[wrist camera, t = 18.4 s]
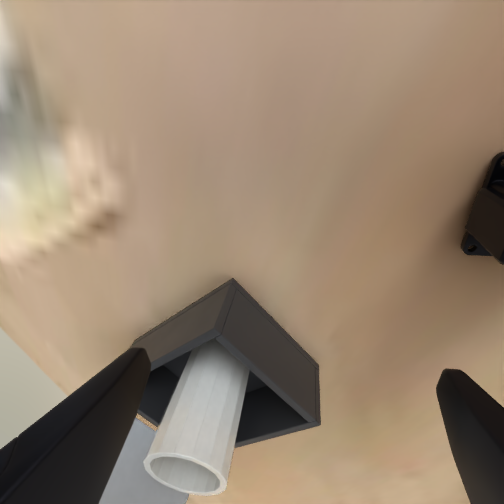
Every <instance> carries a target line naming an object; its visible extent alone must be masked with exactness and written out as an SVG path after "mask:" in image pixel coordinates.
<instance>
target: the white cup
mask: <svg viewBox="0 0 504 504" xmlns="http://www.w3.org/2000/svg"><path fill="white" fill-rule="evenodd" d="M249 373H250V369H248V368H247V367H246V366H245V365H244V364H243V363H242V362H241V361H239V360H238V359H237V358H236V357H235V356H234V355H233V354H232V353H230V352H229V351H228V350H227V349H226V348H225V347H224V346H223V345H222V344H220V343H219V342H218V341H217V340H216V339H215V338H213V339H211V340H209V341H207V342H205V343H203V344H201V345H200V346H198V347H196V348H194V349H192V350H191V352H190V353H189V356H188V358H187V360H186V363H185V365H184V367H183V370H182V372H181V374H180V377H179V379H178V381H177V384H176V386H175V388H174V391H173V393H172V395H171V398H170V400H169V402H168V405H167V407H166V409H165V412H164V414H163V416H162V418H161V421H160V423H159V425H158V428H157V430H156V432H155V435H154V437H153V439H152V442H151V444H150V446H149V449H148V451H147V453H146V456H145V458H144V460H143V464H144V468H145V470H146V471H147V472H148V473H149V474H150V475H151V477H153V478H154V479H155V480H157V481H159V482H160V483H162V484H163V485H165V486H168V487H170V488H172V489H175V490H177V491H180V492H184V493H188V494H192V495H193V494H194V495H202V496H210V495H216V494H220V493H221V492H223V491H224V490H226V488H227V483H228V478H229V473H230V468H231V463H232V458H233V453H234V448H235V443H236V438H237V433H238V428H239V423H240V418H241V413H242V408H243V403H244V398H245V393H246V388H247V383H248V378H249Z"/></svg>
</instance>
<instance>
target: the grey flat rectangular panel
mask: <svg viewBox="0 0 504 504" xmlns="http://www.w3.org/2000/svg"><path fill="white" fill-rule="evenodd" d="M155 432H156V431H154V430H153V429H151V428H150V427H148V426H147V425H145V424H144V423H143V422H141V421H140V420H138V419H137V418H135V420H134V423H133V425H132V427H131V430H130V432H129V434H128V437H127V439H126V441H125V444H124V446H123V448H122V451H121V453H120V455H119V458H118V460H117V462H116V465H115V467H114V469H113V472H112V474H111V476H110V479H109V481H108V483H107V486H106V488H105V490H104V492H103V495H102V497H101V499H100V502H99V504H186V501H187V499H188V496H189V494H188V493H184V492H180V491H177V490H175V489H172V488H170V487H168V486H165V485H163V484H162V483H160V482H159V481H157V480H155V479H154V478H153V477H151V475H150V474H149V473H148V472H147V471H146V470H145V468H144V464H143V460H144V458H145V456H146V453H147V451H148V449H149V446H150V444H151V442H152V439H153V437H154V435H155Z"/></svg>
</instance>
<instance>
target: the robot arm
mask: <svg viewBox="0 0 504 504" xmlns="http://www.w3.org/2000/svg"><path fill="white" fill-rule="evenodd" d="M503 159H504V152H501V153H499V154H497V155H496V156H495V157H494V158H493V160H492V162H491V165H490V168H489V171H488V173H487V176H486V179H485V181H484V184H483V187H482V189H480V190H479V191H478V193H477V196H476V199H475V201H474V204H473V207H472V210H471V212H470V215H469V218H468V221H467V224H466V226H465V228H466V233H465V236H464V239H463V241H462V244H461V249H462V251H463V252H464V253H465V254H467V255H480V256H493V257H494V258H495V259H496V260H497V261H498V262H499V263H500V264H502V265H504V164H503V165H501V161H502V160H503ZM471 245H474V246H473V247H472V248H470V249H468V248H469V246H471ZM150 371H151V362H150V359H149V356H148V354H147V351H146V349H145V348H144V347H131V348H130V349H128V350H127V351H126V352H124V353H123V354H122V355H121V356H119V357H118V358H117V359H116V360H114V361H113V362H112V363H110V364H109V365H108V366H107V367H105V368H104V369H103V370H101V371H100V372H99V373H98V374H96V375H95V376H94V377H92V378H91V379H90V380H89V381H87V382H86V383H85V384H84V385H82V386H81V387H80V388H78V389H77V390H76V391H75V392H73V393H72V394H71V395H69V396H68V397H67V398H66V399H64V400H63V401H62V402H61V403H59V404H58V405H57V406H55V407H54V408H53V409H52V410H50V411H49V412H48V413H46V414H45V415H44V416H43V417H42V418H40V419H39V420H38V421H36V422H35V423H34V424H32V425H31V426H30V427H29V428H27V429H26V430H25V431H23V432H22V433H21V434H20V435H19V436H18V437H16V438H14V439H13V440H12V441H10V442H9V443H8V444H7V445H6V446H4V447H3V448H2V449H0V504H99V502H100V499H101V497H102V495H103V492H104V490H105V488H106V486H107V483H108V481H109V479H110V476H111V474H112V472H113V469H114V467H115V465H116V462H117V460H118V458H119V455H120V453H121V451H122V448H123V446H124V444H125V441H126V439H127V437H128V434H129V432H130V430H131V427H132V425H133V423H134V420H135V418H136V415H137V412H138V409H139V406H140V403H141V400H142V397H143V393H144V390H145V387H146V384H147V381H148V378H149V375H150ZM436 393H437V398H438V402H439V405H440V409H441V413H442V417H443V421H444V425H445V428H446V432H447V436H448V440H449V444H450V447H451V451H452V454H453V457H454V460H455V463H456V466H457V468H458V471H459V474H460V476H461V479H462V482H463V484H464V487H465V490H466V492H467V495H468V498H469V500H470V503H471V504H504V408H503V407H502V406H501V405H500V404H499V403H498V402H497V401H496V400H494V399H493V398H492V397H491V396H490V395H489V394H488V393H487V392H486V391H484V390H483V389H482V388H481V387H480V386H479V385H478V384H477V383H476V382H474V381H473V380H472V379H471V378H470V377H469V376H468V375H467V374H466V373H464V372H463V371H461V370H458V369H444V370H443V371H442V374H441V376H440V379H439V381H438V384H437V387H436Z"/></svg>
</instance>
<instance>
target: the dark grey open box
mask: <svg viewBox="0 0 504 504" xmlns="http://www.w3.org/2000/svg"><path fill="white" fill-rule="evenodd" d="M213 338H215V339H216V340H217V341H218V342H219V343H220V344H222V345H223V346H224V347H225V348H226V349H227V350H228V351H229V352H230V353H232V354H233V355H234V356H235V357H236V358H237V359H238V360H239V361H241V362H242V363H243V364H244V365H245V366H246V367H247V368H248V369H250V373H249V378H248V383H247V388H246V393H245V398H244V403H243V408H242V413H241V418H240V423H239V428H238V433H237V438H236V443H235V448H237V447H241V446H244V445H248V444H252V443H256V442H260V441H263V440H267V439H271V438H275V437H278V436H282V435H286V434H290V433H293V432H297V431H301V430H305V429H308V428H312V427H316V426H320V425H321V417H320V386H319V365H318V364H317V363H316V362H315V361H314V360H313V359H312V358H311V357H310V356H309V355H308V354H307V353H306V352H305V351H304V350H303V349H302V348H301V347H300V346H299V345H298V344H297V343H296V342H295V340H294V339H293V338H292V337H291V336H290V335H289V334H288V333H287V332H286V331H285V330H284V329H283V328H282V327H281V326H280V325H279V324H278V323H277V322H276V321H275V320H274V319H273V318H272V317H271V316H270V315H269V314H268V313H267V312H266V311H265V310H264V309H263V308H262V307H261V306H260V305H259V304H258V303H257V302H256V301H255V300H254V299H253V298H252V297H251V296H250V295H249V294H248V293H247V292H246V291H245V290H244V289H243V288H242V287H241V286H240V285H239V284H238V283H237V282H236V281H235V280H234V279H233V278H232V279H231V280H229V281H228V282H226V283H224V284H223V285H221V286H220V287H218V288H217V289H215V290H213V291H212V292H210V293H209V294H207V295H205V296H204V297H202V298H201V299H199V300H198V301H196V302H194V303H193V304H191V305H190V306H188V307H187V308H185V309H183V310H182V311H180V312H179V313H177V314H176V315H174V316H172V317H171V318H169V319H168V320H166V321H164V322H163V323H161V324H160V325H158V326H157V327H155V328H153V329H152V330H150V331H149V332H147V333H146V334H144V335H142V336H141V337H139V338H138V339H136V340H135V341H134V343H133V344H132V346H131V347H144V348H145V349H146V351H147V354H148V356H149V359H150V362H151V371H150V375H149V378H148V381H147V384H146V387H145V390H144V393H143V397H142V400H141V403H140V406H139V409H138V412H137V413H138V414H139V415H141V416H142V417H143V418H145V419H146V420H148V421H149V422H151V423H152V424H153V425H155V426H156V427H158V425H159V423H160V421H161V418H162V416H163V414H164V412H165V409H166V407H167V405H168V402H169V400H170V398H171V395H172V393H173V391H174V388H175V386H176V384H177V381H178V379H179V377H180V374H181V372H182V370H183V367H184V365H185V363H186V360H187V358H188V356H189V353H190V352H191V350H192V349H194V348H196V347H198V346H200V345H201V344H203V343H205V342H207V341H209V340H211V339H213ZM131 347H130V348H131Z"/></svg>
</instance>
